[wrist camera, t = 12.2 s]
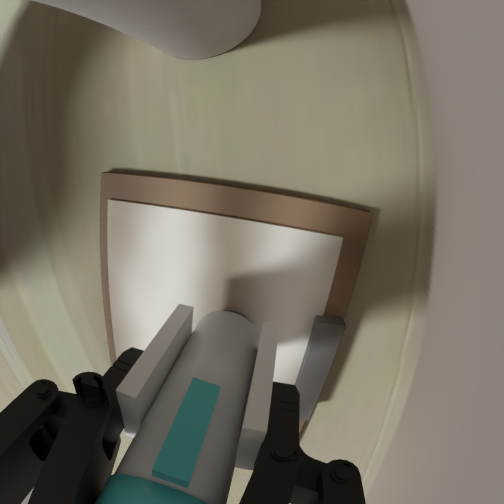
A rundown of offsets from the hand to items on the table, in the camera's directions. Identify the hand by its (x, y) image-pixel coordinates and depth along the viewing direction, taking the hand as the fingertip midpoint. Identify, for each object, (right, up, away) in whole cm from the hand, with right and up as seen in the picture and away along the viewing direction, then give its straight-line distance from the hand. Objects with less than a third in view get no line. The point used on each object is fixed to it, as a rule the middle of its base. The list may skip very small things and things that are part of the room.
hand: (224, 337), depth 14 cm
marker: (0, 0, +2) cm, 2 cm away
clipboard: (-1, -2, +4) cm, 4 cm away
